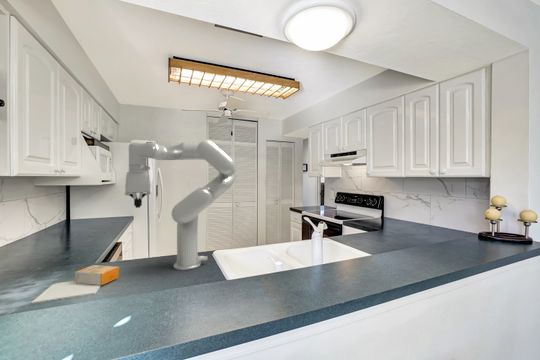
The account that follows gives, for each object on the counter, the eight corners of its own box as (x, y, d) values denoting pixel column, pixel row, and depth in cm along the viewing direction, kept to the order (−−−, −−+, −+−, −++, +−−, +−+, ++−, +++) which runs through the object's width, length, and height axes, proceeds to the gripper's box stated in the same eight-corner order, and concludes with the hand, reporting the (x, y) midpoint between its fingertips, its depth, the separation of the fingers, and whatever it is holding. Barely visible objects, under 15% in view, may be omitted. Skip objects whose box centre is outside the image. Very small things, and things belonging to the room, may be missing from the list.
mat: (106, 278, 102) (106, 276, 102) (95, 294, 87) (95, 292, 87) (53, 285, 95) (53, 283, 95) (31, 304, 80) (31, 302, 80)
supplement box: (102, 273, 93) (74, 271, 95) (102, 285, 93) (74, 283, 95) (119, 266, 101) (93, 264, 103) (119, 277, 101) (93, 275, 103)
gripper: (155, 169, 120) (155, 206, 120) (121, 169, 115) (121, 207, 114) (154, 168, 113) (154, 207, 113) (117, 168, 108) (118, 209, 107)
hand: (138, 207), depth 114 cm, fingers closed
